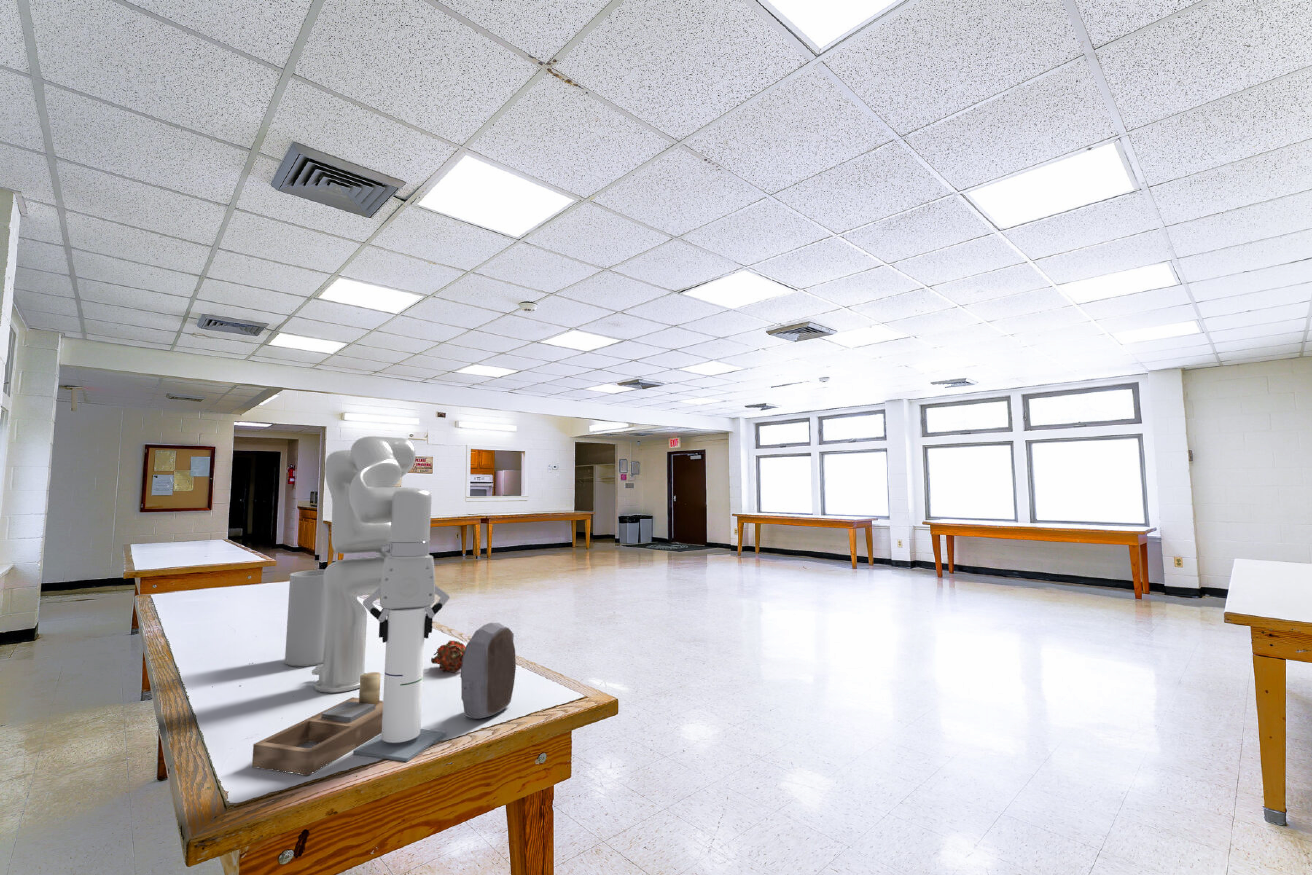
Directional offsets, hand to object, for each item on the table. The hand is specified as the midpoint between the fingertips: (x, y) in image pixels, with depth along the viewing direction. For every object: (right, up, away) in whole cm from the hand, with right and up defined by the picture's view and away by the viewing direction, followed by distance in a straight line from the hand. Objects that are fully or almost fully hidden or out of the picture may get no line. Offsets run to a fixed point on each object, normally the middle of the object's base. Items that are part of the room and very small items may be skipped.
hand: (405, 638), depth 117 cm
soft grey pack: (+12, -22, +15) cm, 29 cm away
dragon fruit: (-7, -24, +44) cm, 51 cm away
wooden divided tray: (-14, -20, -1) cm, 25 cm away
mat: (0, -20, -2) cm, 21 cm away
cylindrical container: (0, -19, -1) cm, 19 cm away
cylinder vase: (-49, -24, +51) cm, 75 cm away
